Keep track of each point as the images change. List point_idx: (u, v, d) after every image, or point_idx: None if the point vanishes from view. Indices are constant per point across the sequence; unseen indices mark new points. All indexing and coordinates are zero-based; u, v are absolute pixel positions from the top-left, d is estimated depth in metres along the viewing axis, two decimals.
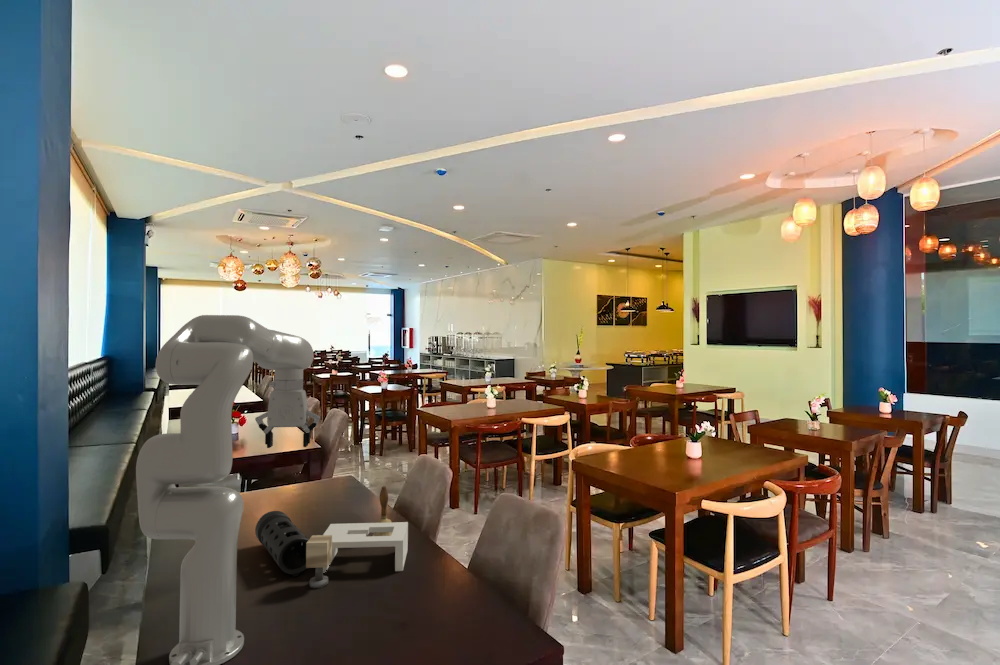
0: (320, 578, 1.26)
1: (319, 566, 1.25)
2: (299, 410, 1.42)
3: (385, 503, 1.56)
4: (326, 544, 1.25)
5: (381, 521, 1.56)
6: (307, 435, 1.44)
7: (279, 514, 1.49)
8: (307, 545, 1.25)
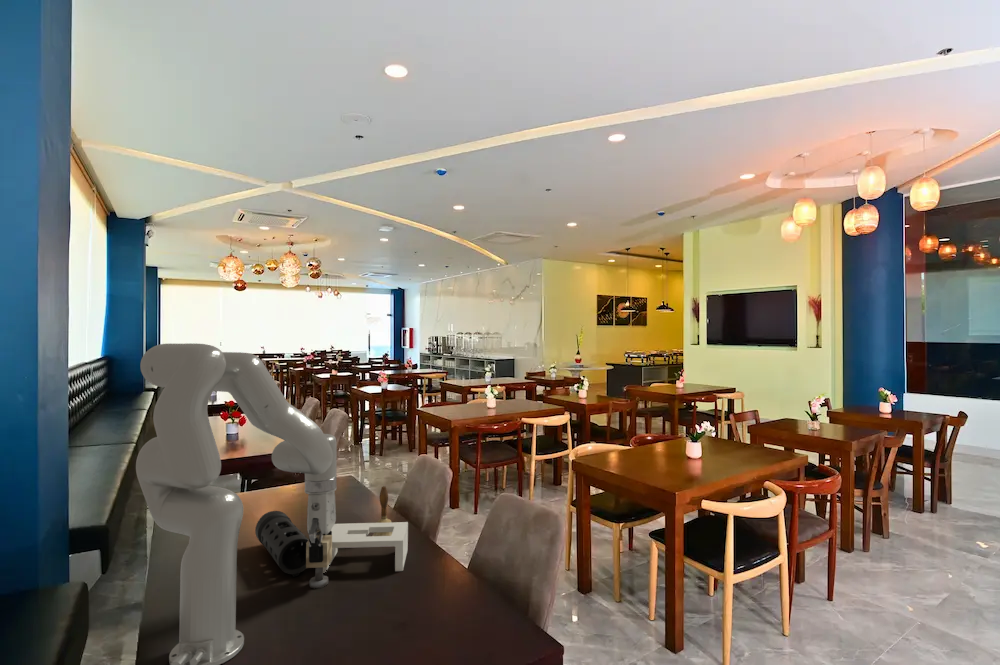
0: (320, 578, 1.26)
1: (319, 566, 1.25)
2: None
3: (385, 503, 1.56)
4: (326, 544, 1.25)
5: (381, 521, 1.56)
6: None
7: (279, 514, 1.49)
8: (307, 545, 1.25)
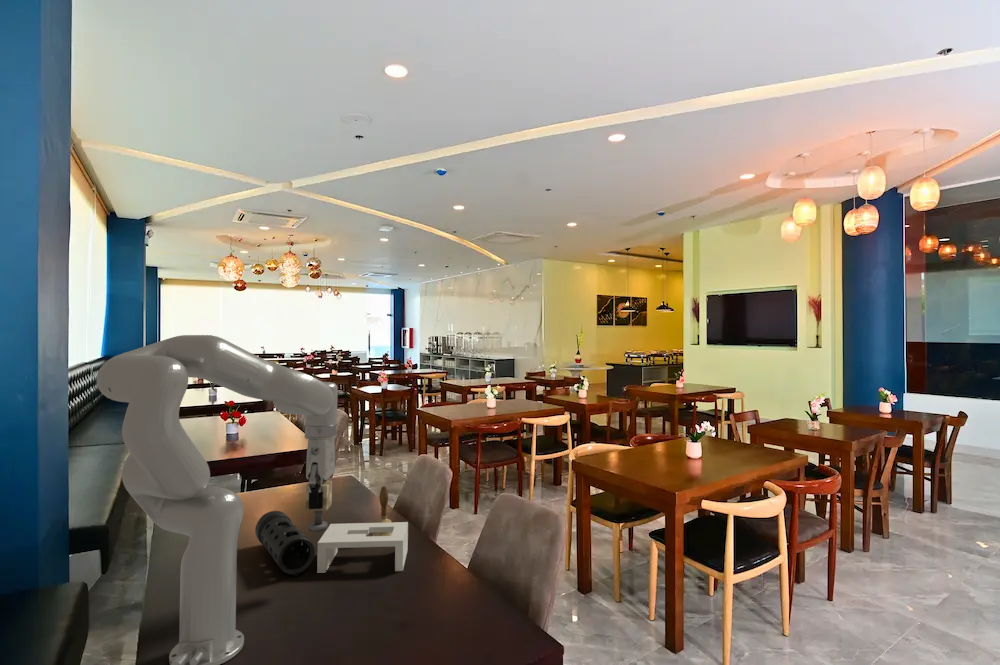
0: (319, 522, 1.26)
1: (319, 509, 1.25)
2: (334, 455, 1.31)
3: (385, 503, 1.56)
4: (326, 487, 1.25)
5: (381, 521, 1.56)
6: None
7: (279, 514, 1.49)
8: (307, 488, 1.25)
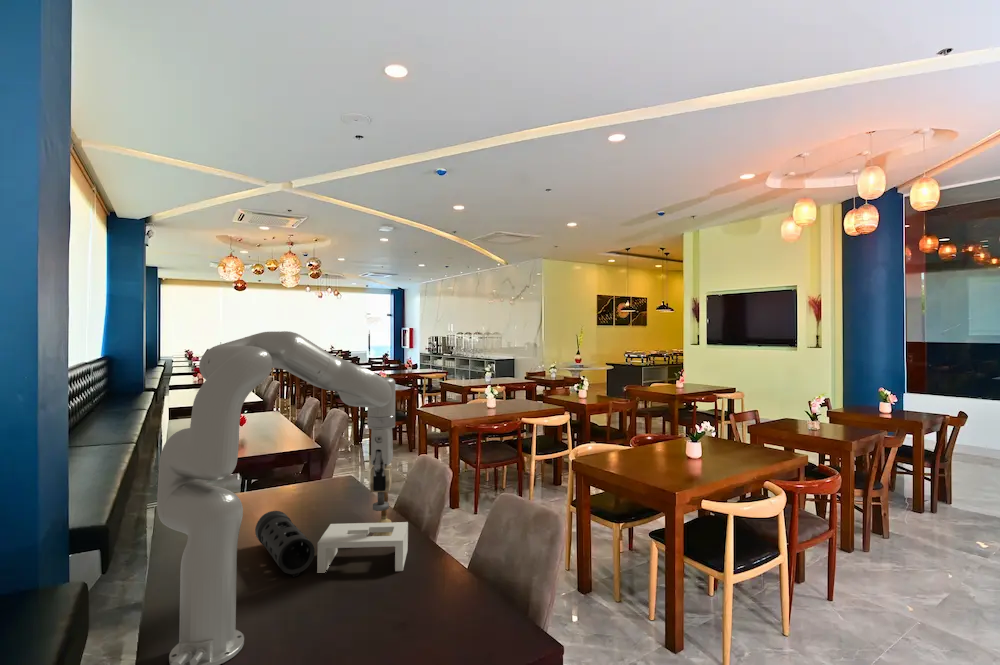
0: (382, 502, 1.41)
1: (382, 491, 1.39)
2: None
3: None
4: (388, 471, 1.40)
5: (381, 521, 1.56)
6: None
7: (279, 514, 1.49)
8: (371, 472, 1.39)
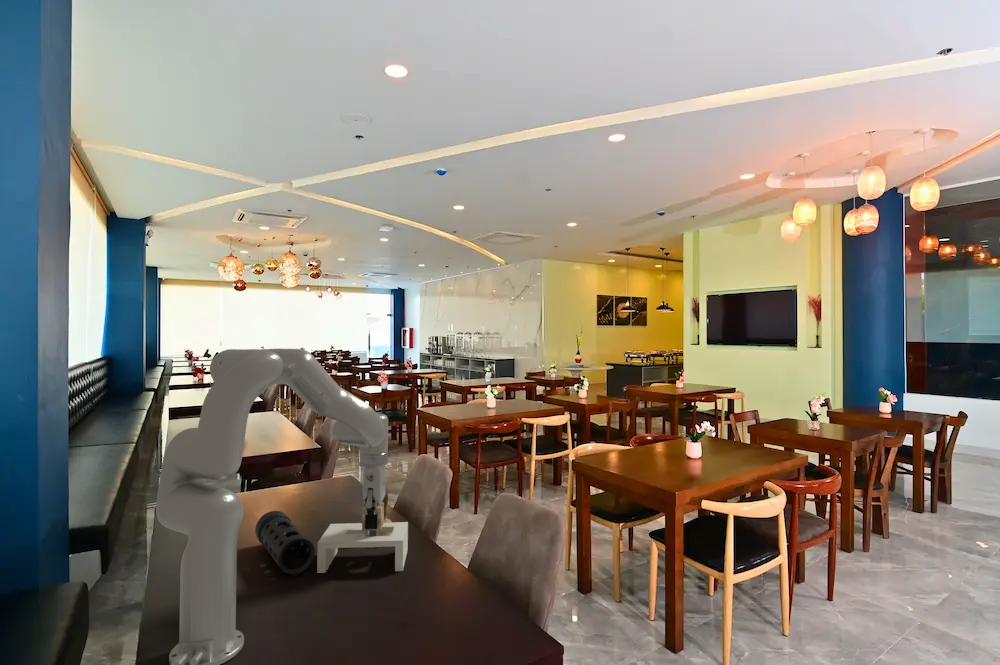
0: None
1: (374, 529, 1.39)
2: None
3: (385, 503, 1.56)
4: (380, 509, 1.39)
5: None
6: None
7: (279, 514, 1.49)
8: (363, 510, 1.39)
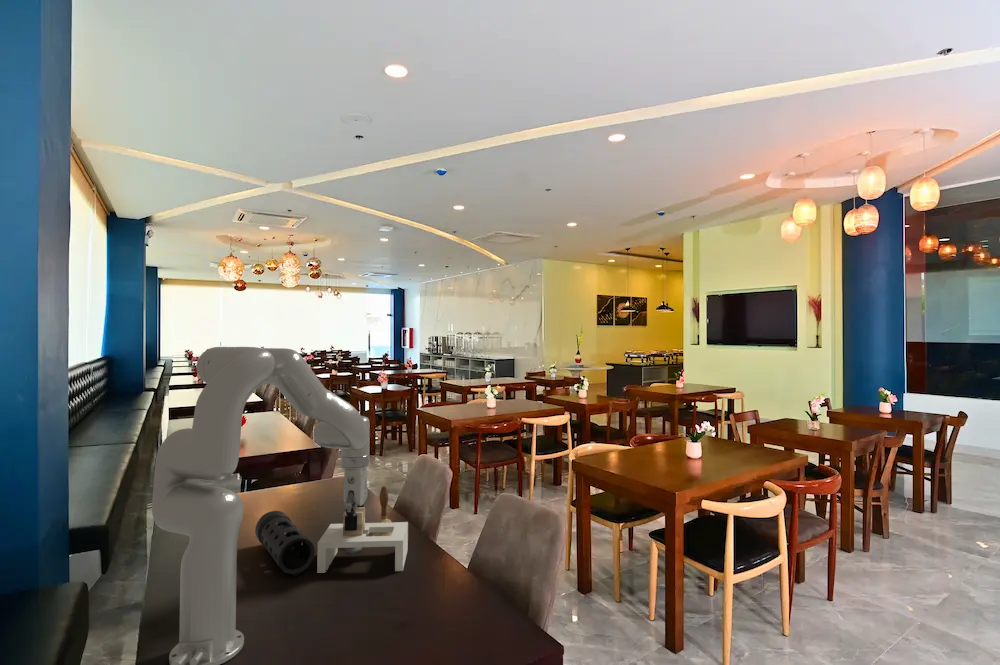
0: None
1: (355, 534, 1.38)
2: None
3: (385, 503, 1.56)
4: (361, 514, 1.39)
5: (381, 521, 1.56)
6: (360, 506, 1.46)
7: (279, 514, 1.49)
8: (344, 515, 1.38)
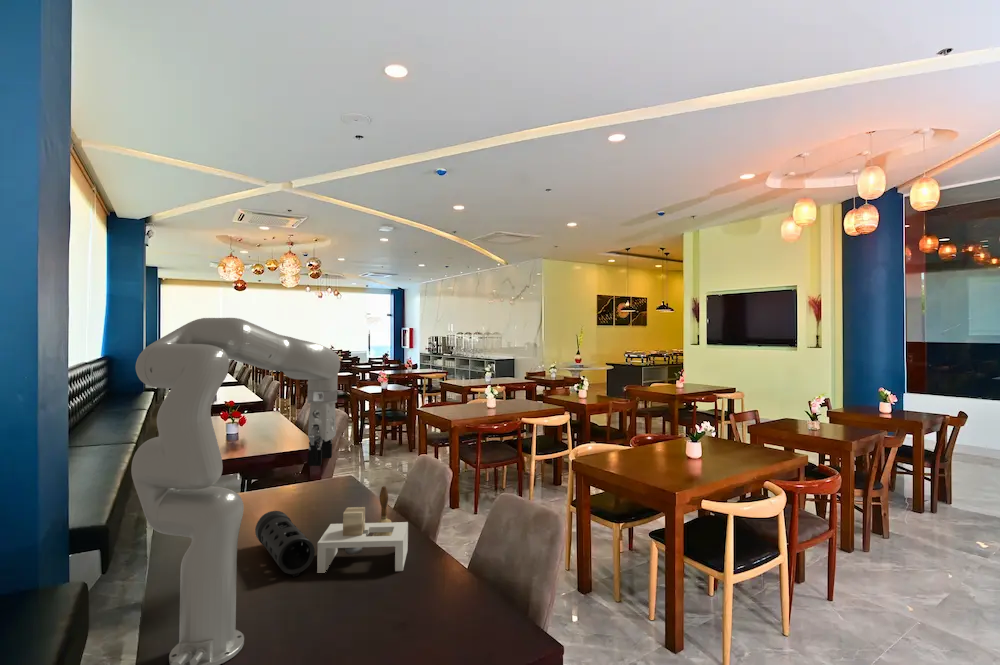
0: None
1: (355, 534, 1.38)
2: (335, 420, 1.40)
3: (385, 503, 1.56)
4: (361, 514, 1.39)
5: (381, 521, 1.56)
6: None
7: (279, 514, 1.49)
8: (344, 515, 1.38)
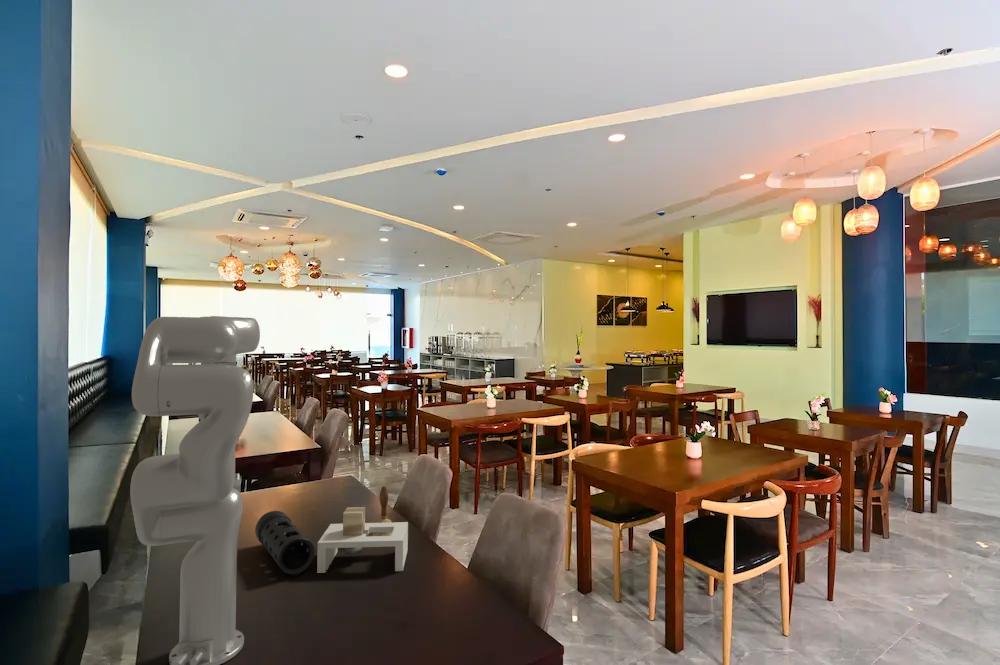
0: None
1: (355, 534, 1.38)
2: None
3: (385, 503, 1.56)
4: (361, 514, 1.39)
5: (381, 521, 1.56)
6: None
7: (279, 514, 1.49)
8: (344, 515, 1.38)
